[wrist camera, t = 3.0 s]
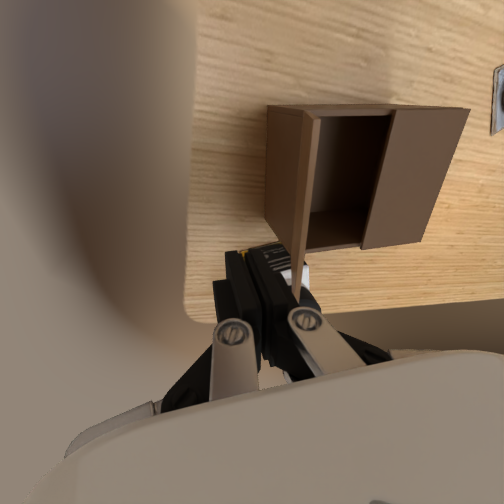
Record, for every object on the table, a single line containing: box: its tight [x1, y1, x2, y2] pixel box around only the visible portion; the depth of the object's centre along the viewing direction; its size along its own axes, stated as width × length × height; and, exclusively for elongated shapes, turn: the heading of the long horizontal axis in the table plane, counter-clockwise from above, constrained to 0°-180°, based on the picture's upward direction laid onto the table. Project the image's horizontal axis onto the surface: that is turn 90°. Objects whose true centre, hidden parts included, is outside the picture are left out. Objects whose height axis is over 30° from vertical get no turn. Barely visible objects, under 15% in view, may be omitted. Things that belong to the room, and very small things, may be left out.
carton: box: [264, 104, 471, 255], centre depth 28 cm, size 15×13×10 cm
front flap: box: [291, 111, 321, 304], centre depth 20 cm, size 7×13×1 cm
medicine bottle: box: [240, 241, 321, 313], centre depth 33 cm, size 7×7×12 cm
